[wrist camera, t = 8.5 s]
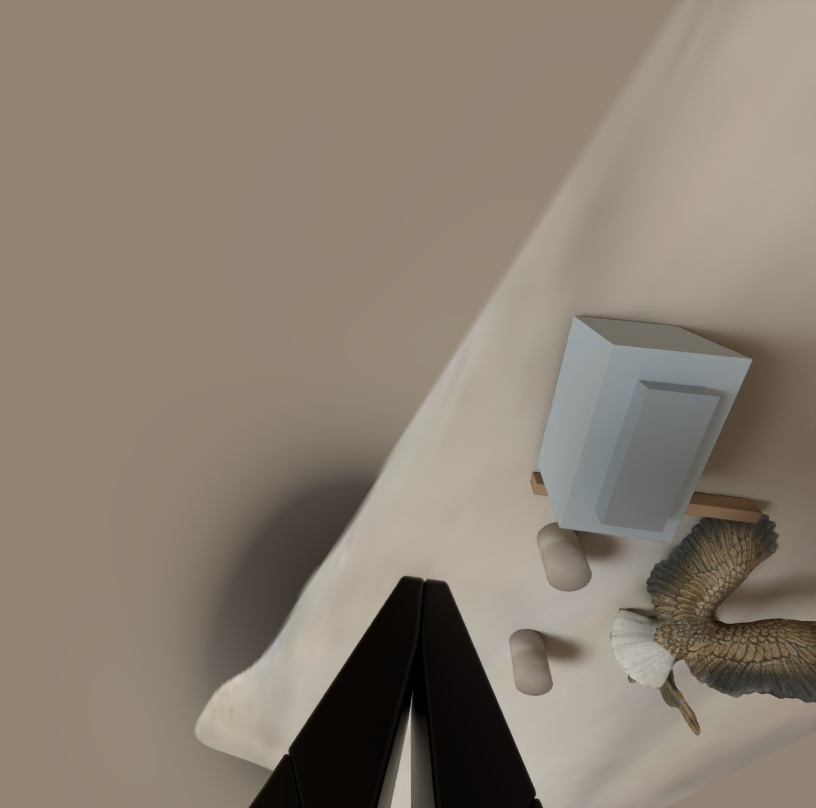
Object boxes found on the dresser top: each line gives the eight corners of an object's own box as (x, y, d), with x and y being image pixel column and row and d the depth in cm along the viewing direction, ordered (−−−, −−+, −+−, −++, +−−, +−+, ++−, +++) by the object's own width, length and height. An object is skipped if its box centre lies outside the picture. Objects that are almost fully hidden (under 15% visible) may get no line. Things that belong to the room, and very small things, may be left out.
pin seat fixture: (816, 366, 16) (874, 388, 14) (658, 673, 24) (678, 719, 22) (565, 340, 17) (582, 357, 15) (490, 646, 25) (493, 689, 23)
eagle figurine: (700, 679, 22) (892, 622, 18) (689, 792, 17) (962, 754, 12) (600, 559, 25) (742, 480, 20) (562, 623, 20) (744, 536, 15)
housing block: (676, 326, 16) (772, 367, 11) (624, 474, 19) (682, 559, 14) (573, 315, 16) (623, 352, 11) (537, 463, 19) (564, 543, 14)
